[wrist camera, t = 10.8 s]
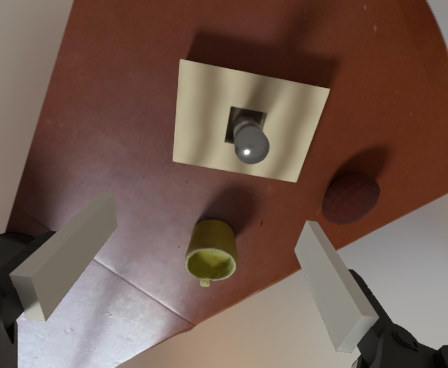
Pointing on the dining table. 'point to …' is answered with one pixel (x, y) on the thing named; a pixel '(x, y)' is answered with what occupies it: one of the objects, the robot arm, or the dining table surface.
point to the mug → (211, 251)
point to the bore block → (244, 104)
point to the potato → (350, 198)
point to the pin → (249, 140)
